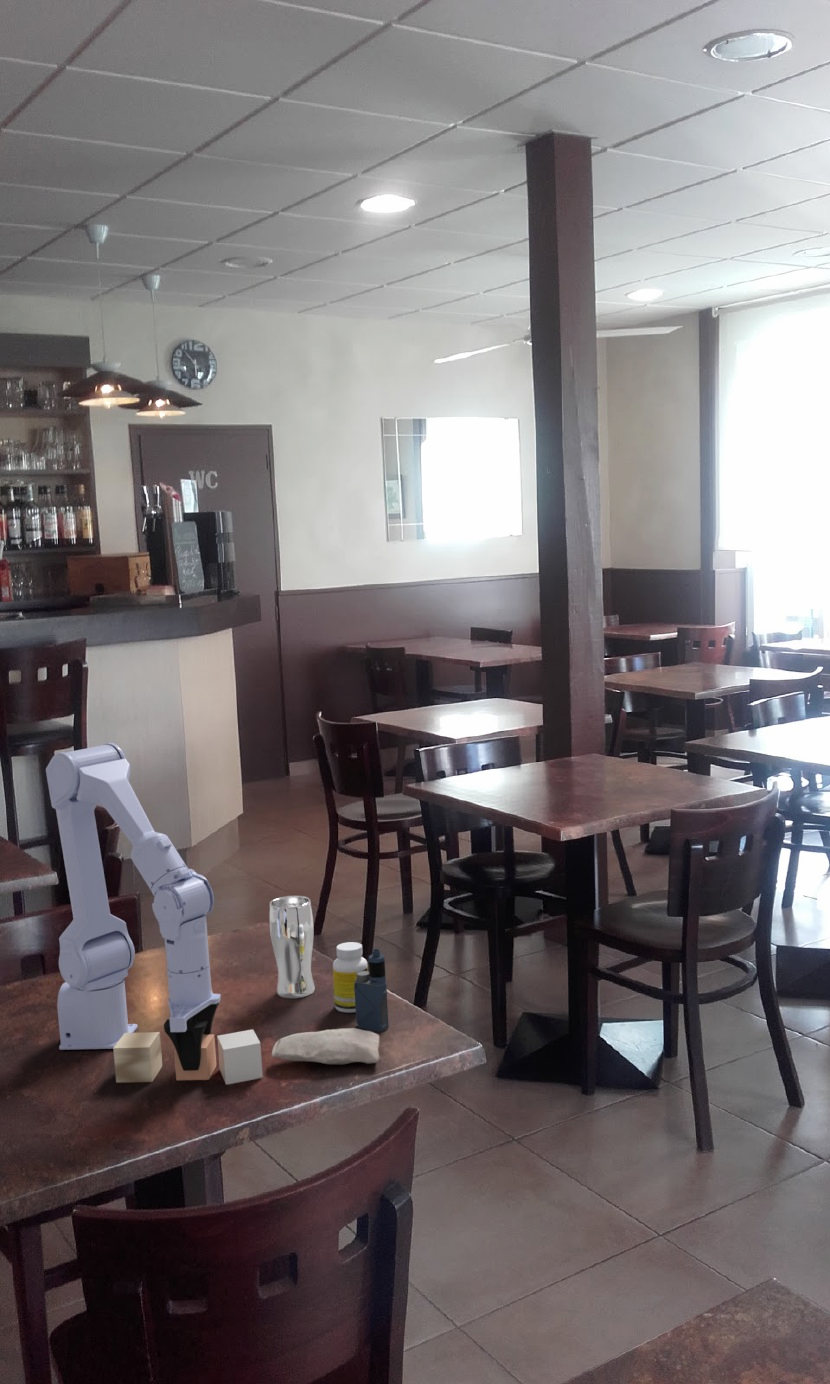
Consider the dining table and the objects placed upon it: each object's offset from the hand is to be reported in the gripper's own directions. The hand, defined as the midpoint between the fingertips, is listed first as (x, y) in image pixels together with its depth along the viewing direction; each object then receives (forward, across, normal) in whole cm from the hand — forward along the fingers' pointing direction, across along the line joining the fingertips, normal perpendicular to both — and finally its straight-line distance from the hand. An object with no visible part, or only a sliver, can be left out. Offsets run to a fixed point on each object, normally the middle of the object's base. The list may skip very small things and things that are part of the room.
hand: (195, 1061), depth 163 cm
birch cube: (+2, 0, +8) cm, 8 cm away
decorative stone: (+2, +4, -18) cm, 18 cm away
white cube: (+2, 0, -6) cm, 7 cm away
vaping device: (+2, +14, -23) cm, 27 cm away
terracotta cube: (+2, 0, 0) cm, 2 cm away
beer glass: (+2, +29, -9) cm, 30 cm away
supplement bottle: (+2, +22, -19) cm, 29 cm away
